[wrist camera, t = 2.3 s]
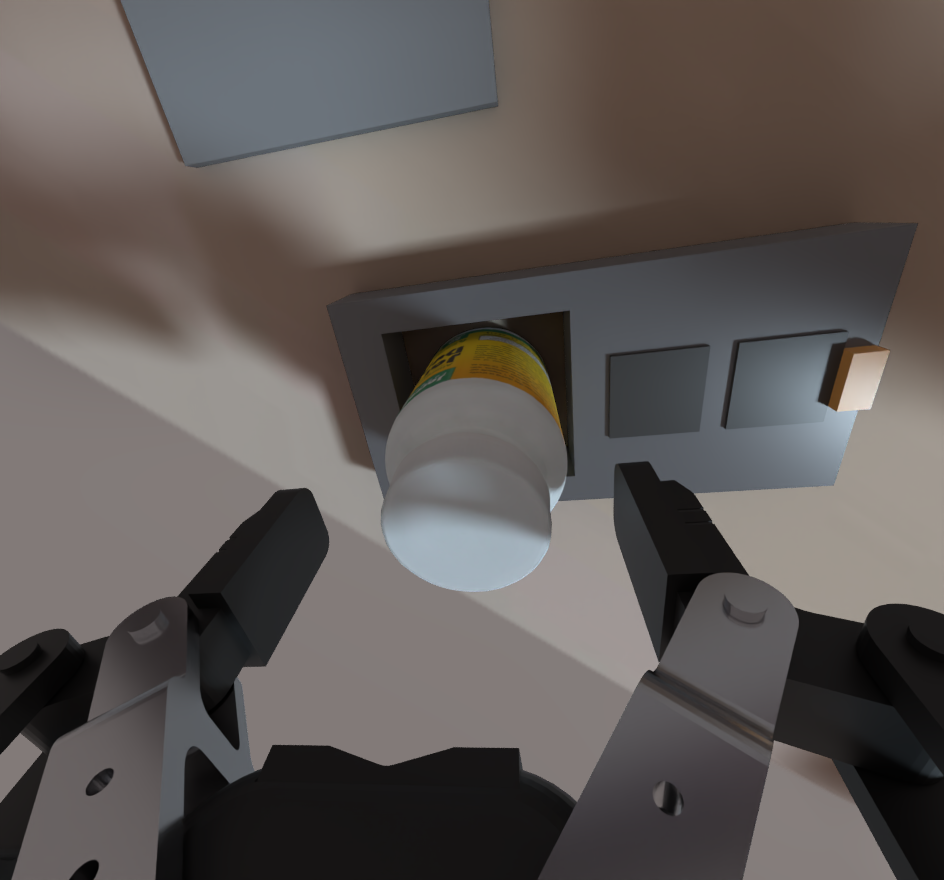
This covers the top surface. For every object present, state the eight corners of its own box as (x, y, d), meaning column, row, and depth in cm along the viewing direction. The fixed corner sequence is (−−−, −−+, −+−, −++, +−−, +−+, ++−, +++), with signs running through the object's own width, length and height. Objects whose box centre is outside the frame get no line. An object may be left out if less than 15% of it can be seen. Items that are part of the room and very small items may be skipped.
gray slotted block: (854, 222, 14) (937, 223, 11) (795, 452, 18) (844, 494, 15) (351, 294, 16) (319, 308, 14) (401, 479, 21) (383, 519, 18)
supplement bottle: (509, 458, 19) (504, 640, 11) (408, 406, 19) (319, 559, 10) (576, 363, 17) (634, 505, 9) (462, 298, 16) (404, 384, 8)
